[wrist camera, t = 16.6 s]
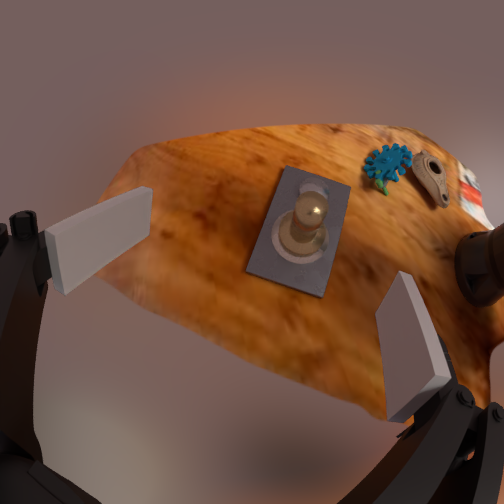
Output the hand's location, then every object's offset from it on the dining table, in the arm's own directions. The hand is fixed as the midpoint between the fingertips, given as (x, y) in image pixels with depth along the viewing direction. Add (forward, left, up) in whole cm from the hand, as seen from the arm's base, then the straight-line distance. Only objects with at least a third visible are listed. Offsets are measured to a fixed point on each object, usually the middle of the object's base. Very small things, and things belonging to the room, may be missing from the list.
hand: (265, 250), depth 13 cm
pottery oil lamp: (-24, -33, -28) cm, 50 cm away
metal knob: (-2, -13, -26) cm, 29 cm away
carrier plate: (-2, -15, -28) cm, 31 cm away
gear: (-14, -31, -28) cm, 44 cm away
